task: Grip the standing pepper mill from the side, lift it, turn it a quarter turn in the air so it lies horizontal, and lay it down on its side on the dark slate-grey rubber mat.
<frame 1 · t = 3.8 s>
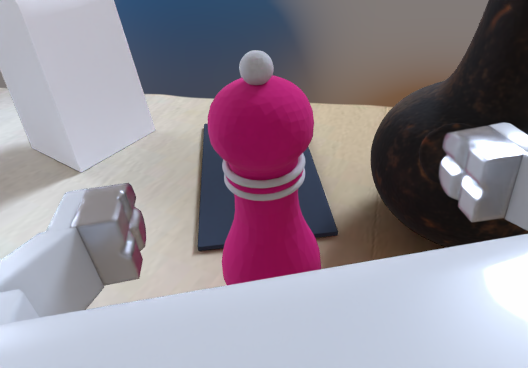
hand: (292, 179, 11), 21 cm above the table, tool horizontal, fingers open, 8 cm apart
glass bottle: (461, 217, 39), on the table
milk: (95, 140, 56), on the table
mat: (258, 170, 47), on the table
pepper mill: (274, 301, 33), on the table
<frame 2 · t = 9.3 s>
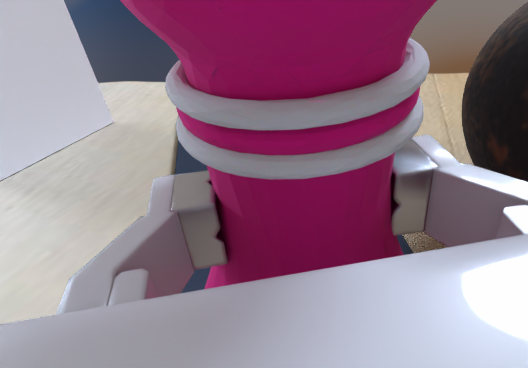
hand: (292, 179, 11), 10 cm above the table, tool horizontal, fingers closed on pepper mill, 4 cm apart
milk: (28, 139, 40), on the table
mat: (262, 164, 31), on the table
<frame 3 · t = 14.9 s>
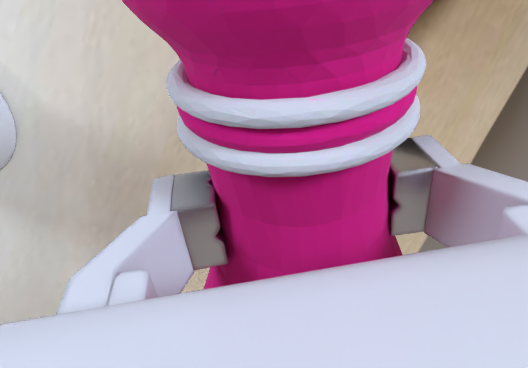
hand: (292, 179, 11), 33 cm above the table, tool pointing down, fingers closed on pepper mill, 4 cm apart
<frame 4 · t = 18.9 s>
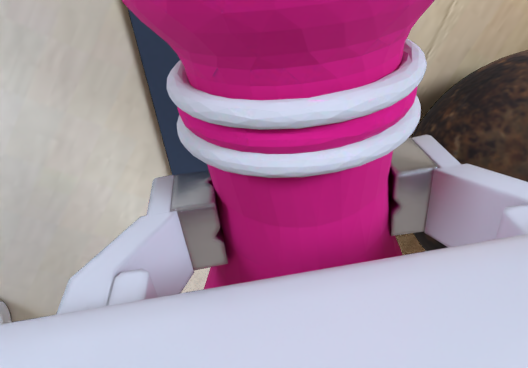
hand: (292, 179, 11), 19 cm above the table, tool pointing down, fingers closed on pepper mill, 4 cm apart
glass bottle: (481, 134, 34), on the table
mat: (238, 23, 26), on the table
when the fingers open (3 cm above the table, at t = 22.3 s): pepper mill stays where it is, resting on mat.
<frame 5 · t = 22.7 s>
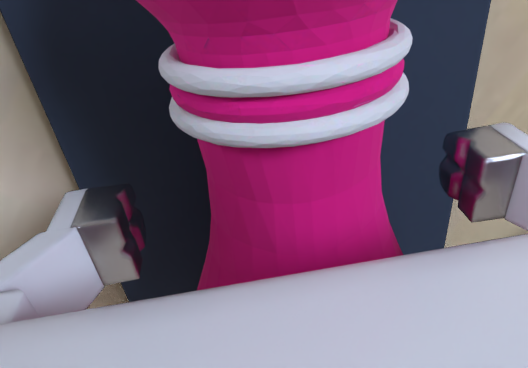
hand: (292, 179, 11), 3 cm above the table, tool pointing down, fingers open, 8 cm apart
mat: (272, 123, 13), on the table
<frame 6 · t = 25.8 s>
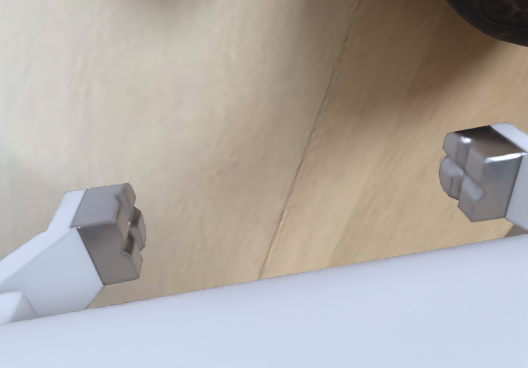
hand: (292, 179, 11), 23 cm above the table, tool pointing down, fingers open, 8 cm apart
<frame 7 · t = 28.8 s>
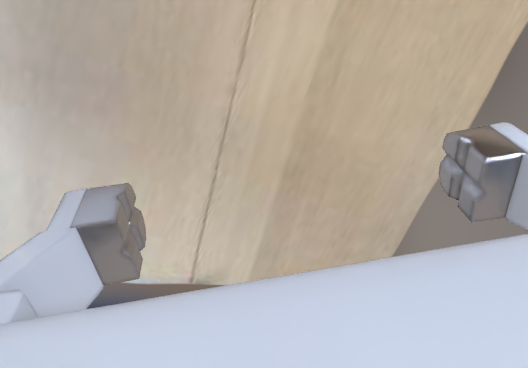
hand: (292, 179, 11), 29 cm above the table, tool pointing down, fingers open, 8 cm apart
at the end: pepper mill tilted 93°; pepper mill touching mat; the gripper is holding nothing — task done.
